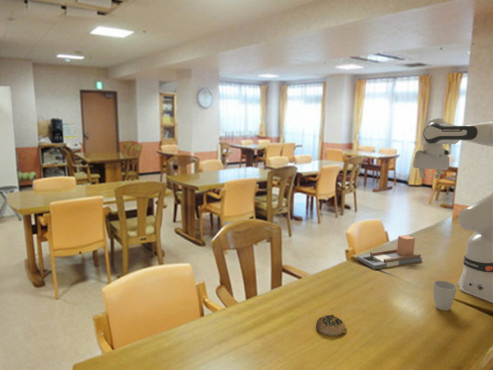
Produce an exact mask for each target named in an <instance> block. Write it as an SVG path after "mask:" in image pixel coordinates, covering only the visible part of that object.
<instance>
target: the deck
mask: <svg viewBox="0 0 493 370" xmlns="http://www.w3.org/2000/svg"><path fill="white" fill-rule="evenodd" d="M356 260H357V261H359V262H360V263H362V264H364V265H365V266H367V267H369V268H371V269H373V270H377V269H383V268H389V267H395V266H402V265H407V264H413V263H418V262H422V260H423V259H422V257H421V254H420V253H419V252H418V253H414V254H412V255H406V256H402V255H400V254H398V253H397V247H396V248H391V249H384V250H378V251H370V252H369V254H360V255H357V256H356Z"/></svg>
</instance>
